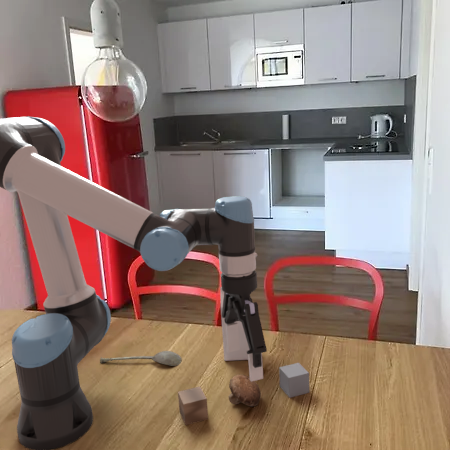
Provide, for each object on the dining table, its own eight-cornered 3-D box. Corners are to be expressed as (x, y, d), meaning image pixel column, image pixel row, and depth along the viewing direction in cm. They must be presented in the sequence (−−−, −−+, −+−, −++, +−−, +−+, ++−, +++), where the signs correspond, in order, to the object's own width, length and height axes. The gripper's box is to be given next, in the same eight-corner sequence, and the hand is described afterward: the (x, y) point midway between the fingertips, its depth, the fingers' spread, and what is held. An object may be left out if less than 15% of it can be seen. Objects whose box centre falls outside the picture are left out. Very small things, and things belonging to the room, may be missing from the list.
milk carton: (251, 360, 126) (248, 291, 121) (224, 361, 126) (219, 292, 122) (250, 347, 133) (247, 281, 128) (224, 348, 133) (220, 282, 129)
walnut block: (185, 425, 101) (183, 404, 100) (179, 412, 106) (177, 391, 105) (208, 419, 103) (206, 398, 102) (201, 406, 108) (200, 386, 106)
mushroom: (214, 393, 106) (230, 371, 106) (230, 388, 113) (246, 367, 113) (240, 420, 103) (257, 397, 102) (255, 413, 110) (271, 391, 109)
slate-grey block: (289, 398, 109) (288, 378, 108) (279, 386, 113) (279, 367, 112) (309, 392, 110) (309, 372, 109) (299, 381, 115) (298, 362, 114)
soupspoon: (180, 371, 125) (184, 359, 131) (179, 359, 124) (184, 348, 130) (96, 369, 127) (105, 357, 133) (96, 357, 126) (104, 346, 132)
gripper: (280, 287, 91) (285, 388, 96) (234, 253, 114) (240, 336, 119) (243, 294, 88) (249, 398, 93) (203, 258, 111) (210, 343, 116)
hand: (244, 364), depth 106 cm, fingers open, 13 cm apart
